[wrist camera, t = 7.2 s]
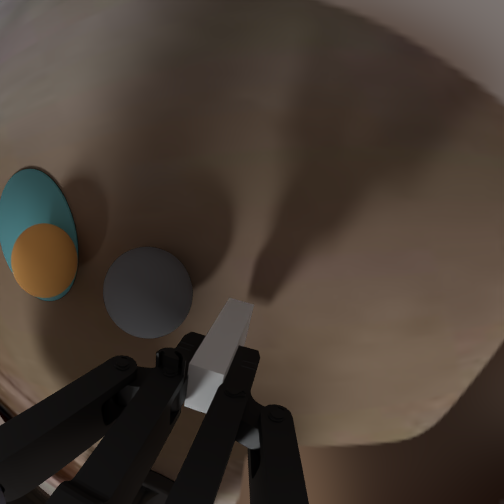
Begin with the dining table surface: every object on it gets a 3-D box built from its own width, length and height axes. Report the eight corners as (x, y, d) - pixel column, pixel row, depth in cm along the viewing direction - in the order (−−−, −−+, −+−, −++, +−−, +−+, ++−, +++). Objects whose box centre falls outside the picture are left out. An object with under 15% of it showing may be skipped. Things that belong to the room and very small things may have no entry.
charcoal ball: (71, 294, 15) (104, 260, 20) (130, 369, 16) (147, 322, 22) (148, 246, 14) (168, 220, 19) (208, 333, 16) (211, 289, 21)
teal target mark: (102, 262, 21) (100, 263, 21) (40, 318, 25) (38, 318, 25) (37, 139, 20) (35, 139, 19) (-12, 219, 23) (-13, 219, 23)
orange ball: (43, 292, 16) (-12, 272, 15) (75, 314, 21) (24, 297, 20) (72, 214, 18) (17, 204, 18) (96, 250, 23) (45, 238, 23)
